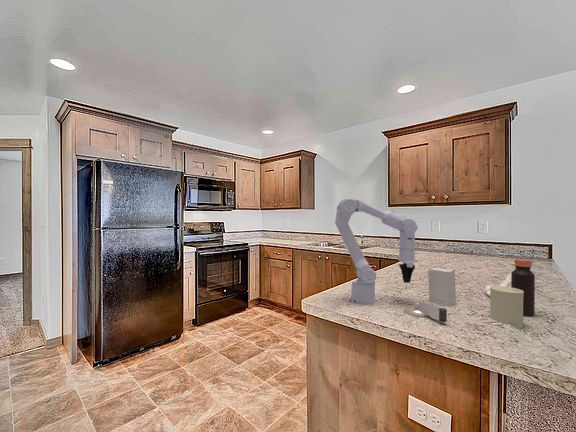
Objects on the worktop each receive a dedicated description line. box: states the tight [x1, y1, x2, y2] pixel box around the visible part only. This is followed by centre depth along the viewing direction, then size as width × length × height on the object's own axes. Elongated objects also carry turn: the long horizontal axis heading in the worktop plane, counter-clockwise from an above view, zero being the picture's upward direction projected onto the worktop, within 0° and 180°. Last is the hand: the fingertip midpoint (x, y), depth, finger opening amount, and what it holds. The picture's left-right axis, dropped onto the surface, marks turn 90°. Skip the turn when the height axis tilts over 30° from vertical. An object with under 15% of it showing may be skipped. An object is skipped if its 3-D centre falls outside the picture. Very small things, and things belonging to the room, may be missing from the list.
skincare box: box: [427, 267, 457, 307], centre depth 115 cm, size 8×6×15 cm
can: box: [489, 285, 525, 329], centre depth 97 cm, size 9×9×12 cm
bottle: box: [510, 258, 536, 317], centre depth 107 cm, size 7×7×20 cm
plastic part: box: [483, 272, 512, 298], centre depth 128 cm, size 8×10×12 cm
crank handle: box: [403, 300, 448, 323], centre depth 99 cm, size 17×9×5 cm, turn 17°
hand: (406, 282), depth 115 cm, fingers closed
